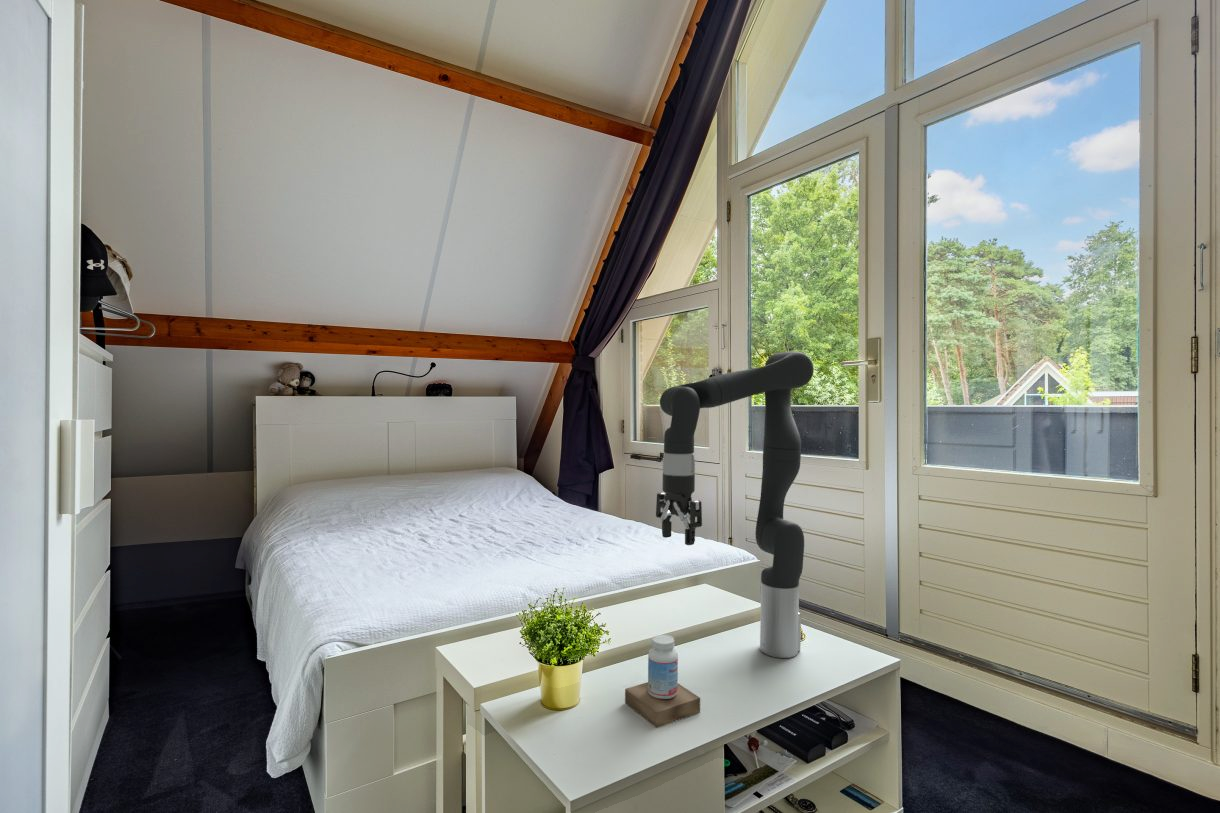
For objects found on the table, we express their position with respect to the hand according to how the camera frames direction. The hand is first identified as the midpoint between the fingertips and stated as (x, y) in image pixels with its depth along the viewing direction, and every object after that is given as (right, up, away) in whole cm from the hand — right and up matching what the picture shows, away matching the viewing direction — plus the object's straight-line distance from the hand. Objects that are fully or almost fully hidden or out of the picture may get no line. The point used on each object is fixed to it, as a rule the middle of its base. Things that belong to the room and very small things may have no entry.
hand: (677, 540), depth 144 cm
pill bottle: (-5, -28, -18) cm, 33 cm away
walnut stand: (-5, -31, -18) cm, 36 cm away
